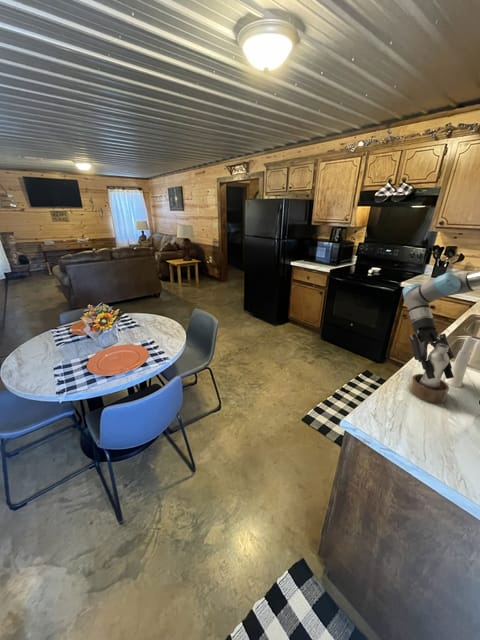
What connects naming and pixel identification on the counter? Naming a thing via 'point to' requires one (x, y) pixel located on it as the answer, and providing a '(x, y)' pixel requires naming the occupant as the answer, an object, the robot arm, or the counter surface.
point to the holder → (428, 390)
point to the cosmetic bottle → (461, 363)
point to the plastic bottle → (436, 367)
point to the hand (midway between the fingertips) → (440, 378)
